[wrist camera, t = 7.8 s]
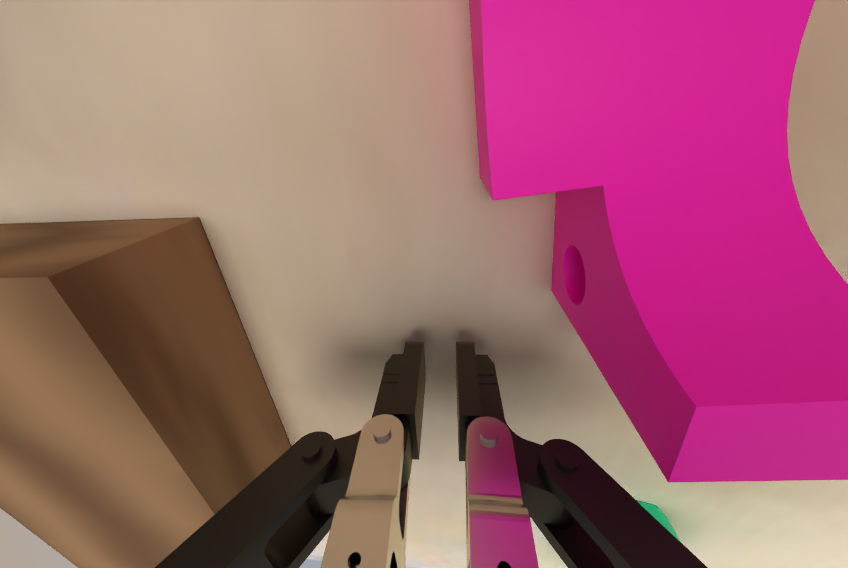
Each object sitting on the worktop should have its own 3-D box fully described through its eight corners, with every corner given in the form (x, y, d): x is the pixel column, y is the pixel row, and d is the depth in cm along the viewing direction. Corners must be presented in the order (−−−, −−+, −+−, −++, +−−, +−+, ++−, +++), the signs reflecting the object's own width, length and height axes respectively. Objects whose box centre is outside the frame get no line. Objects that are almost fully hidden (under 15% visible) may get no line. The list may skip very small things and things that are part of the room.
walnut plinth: (198, 217, 12) (47, 277, 7) (307, 487, 20) (268, 590, 16) (-32, 225, 12) (-293, 283, 8) (166, 481, 21) (91, 577, 17)
